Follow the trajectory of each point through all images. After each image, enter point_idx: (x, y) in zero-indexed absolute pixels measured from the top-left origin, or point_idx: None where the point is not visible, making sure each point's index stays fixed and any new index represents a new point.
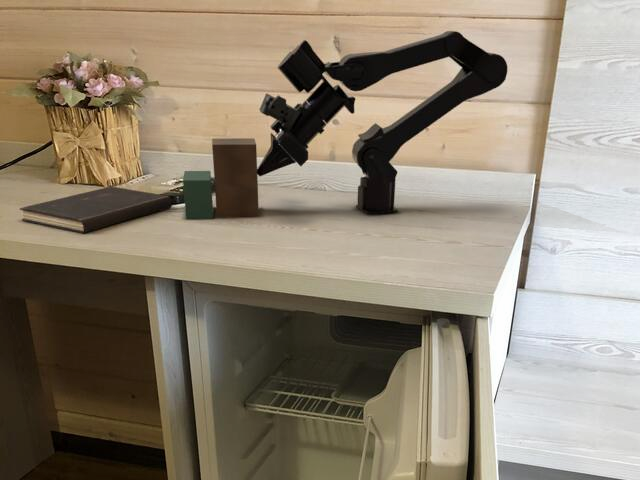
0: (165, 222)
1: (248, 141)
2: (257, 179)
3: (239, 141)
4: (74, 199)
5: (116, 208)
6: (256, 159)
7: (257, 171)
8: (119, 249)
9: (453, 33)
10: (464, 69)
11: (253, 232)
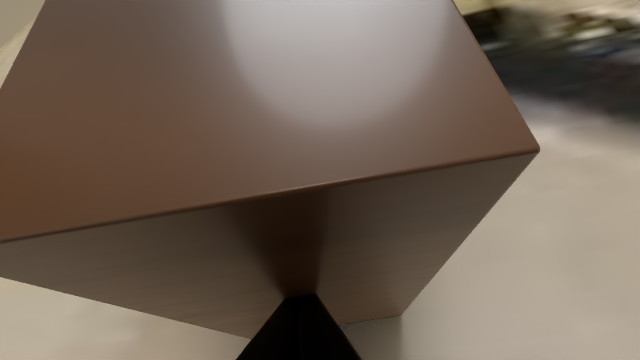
0: None
1: (204, 118)
2: (181, 321)
3: (210, 35)
4: None
5: None
6: (86, 295)
7: (282, 305)
8: (7, 63)
9: None
10: None
11: (25, 340)
